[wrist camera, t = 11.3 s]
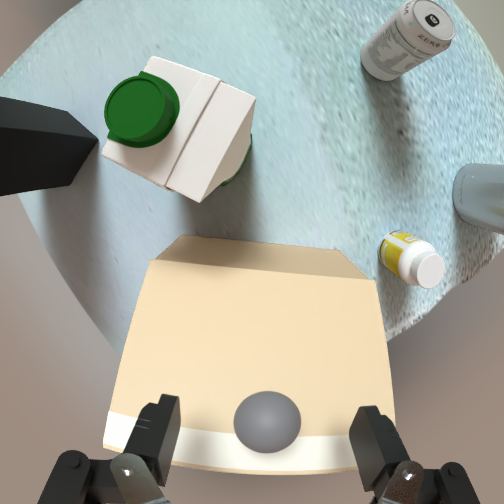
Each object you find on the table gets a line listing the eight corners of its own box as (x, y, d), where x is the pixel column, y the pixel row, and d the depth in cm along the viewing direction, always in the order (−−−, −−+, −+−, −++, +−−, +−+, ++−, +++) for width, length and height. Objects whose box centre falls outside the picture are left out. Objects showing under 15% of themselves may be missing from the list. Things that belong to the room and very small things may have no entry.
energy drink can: (406, 70, 31) (469, 34, 16) (379, 90, 32) (440, 55, 17) (377, 37, 30) (428, -13, 15) (348, 55, 31) (395, 3, 16)
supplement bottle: (389, 276, 38) (423, 304, 29) (369, 247, 37) (402, 270, 28) (417, 250, 37) (456, 272, 28) (398, 221, 36) (437, 236, 27)
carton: (339, 250, 37) (373, 283, 26) (317, 355, 41) (334, 411, 30) (182, 234, 37) (150, 262, 25) (180, 343, 41) (158, 398, 29)
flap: (372, 284, 25) (406, 226, 20) (392, 464, 15) (458, 452, 9) (152, 263, 25) (135, 198, 20) (106, 447, 15) (51, 433, 9)
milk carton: (197, 101, 33) (139, 33, 13) (263, 132, 34) (274, 84, 14) (164, 164, 35) (74, 160, 15) (229, 196, 36) (199, 224, 16)
